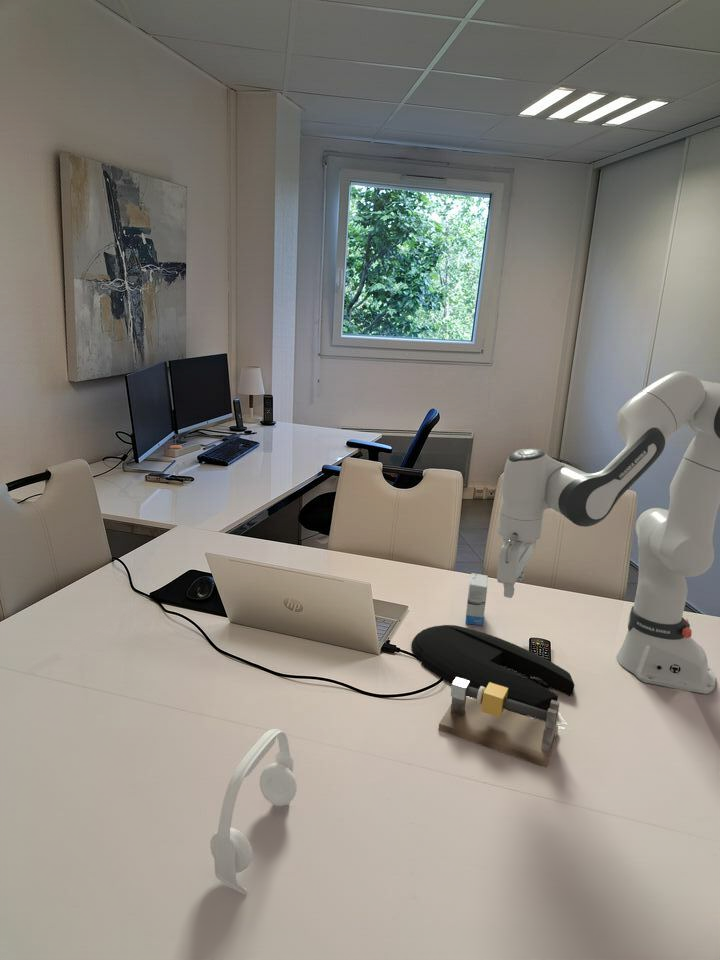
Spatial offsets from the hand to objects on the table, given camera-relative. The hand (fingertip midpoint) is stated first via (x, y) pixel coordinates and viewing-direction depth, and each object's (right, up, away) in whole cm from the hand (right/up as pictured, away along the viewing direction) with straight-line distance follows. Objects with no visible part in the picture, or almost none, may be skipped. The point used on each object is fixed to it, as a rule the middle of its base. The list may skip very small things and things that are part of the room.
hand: (513, 587), depth 140 cm
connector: (-12, -26, -1) cm, 29 cm away
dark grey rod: (-2, -24, -6) cm, 25 cm away
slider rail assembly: (-4, -29, -4) cm, 30 cm away
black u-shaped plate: (-2, -23, +20) cm, 30 cm away
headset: (-50, -35, -35) cm, 70 cm away
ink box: (-1, -16, +44) cm, 47 cm away
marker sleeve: (-5, -24, -5) cm, 25 cm away
